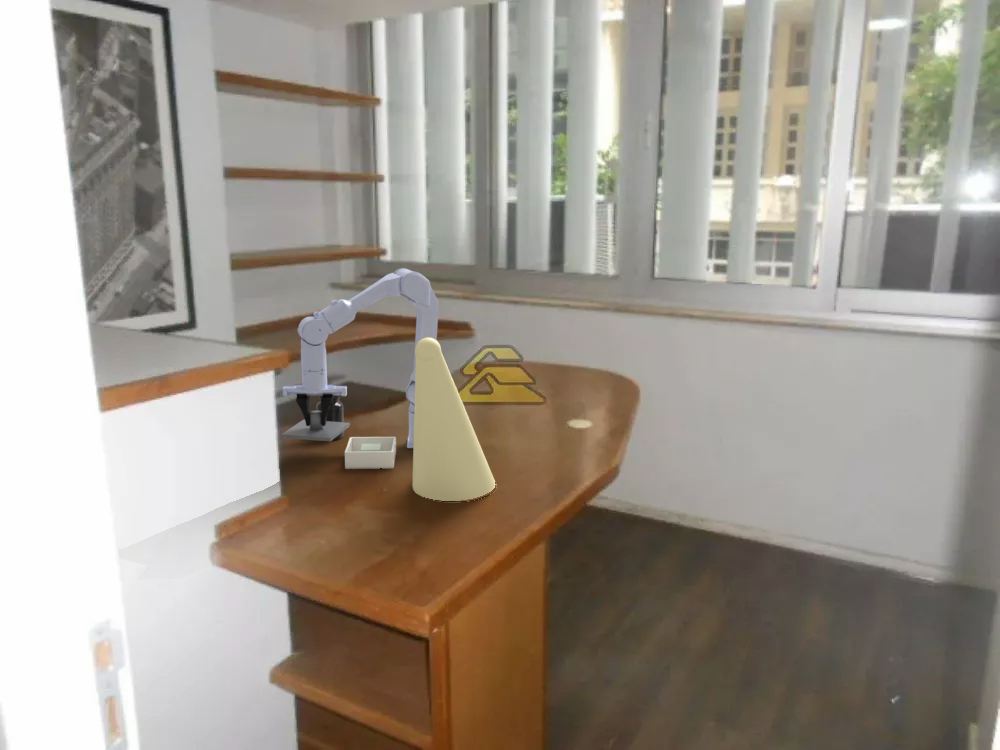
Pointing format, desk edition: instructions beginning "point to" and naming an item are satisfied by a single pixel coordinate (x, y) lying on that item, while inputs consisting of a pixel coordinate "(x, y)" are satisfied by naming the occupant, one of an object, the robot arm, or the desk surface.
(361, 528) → the desk surface
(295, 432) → the gray lid
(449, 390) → the cone light
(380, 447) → the sage block
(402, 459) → the desk surface
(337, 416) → the supplement bottle
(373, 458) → the white open box
